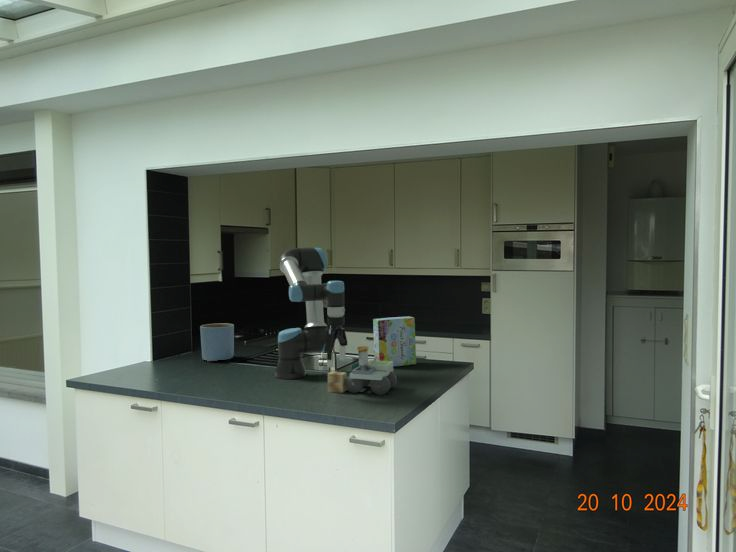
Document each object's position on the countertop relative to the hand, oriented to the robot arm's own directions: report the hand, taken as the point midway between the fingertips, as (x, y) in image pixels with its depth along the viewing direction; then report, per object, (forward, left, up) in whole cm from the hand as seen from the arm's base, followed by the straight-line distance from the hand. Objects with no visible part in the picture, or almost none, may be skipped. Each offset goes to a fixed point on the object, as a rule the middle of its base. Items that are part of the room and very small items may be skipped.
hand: (336, 363), depth 242 cm
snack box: (+9, +59, -12) cm, 60 cm away
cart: (+15, +5, -12) cm, 20 cm away
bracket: (-4, +26, -13) cm, 29 cm away
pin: (+13, 0, -3) cm, 13 cm away
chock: (0, 0, -12) cm, 12 cm away
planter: (-96, +48, -12) cm, 108 cm away
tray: (+17, +9, -3) cm, 19 cm away
